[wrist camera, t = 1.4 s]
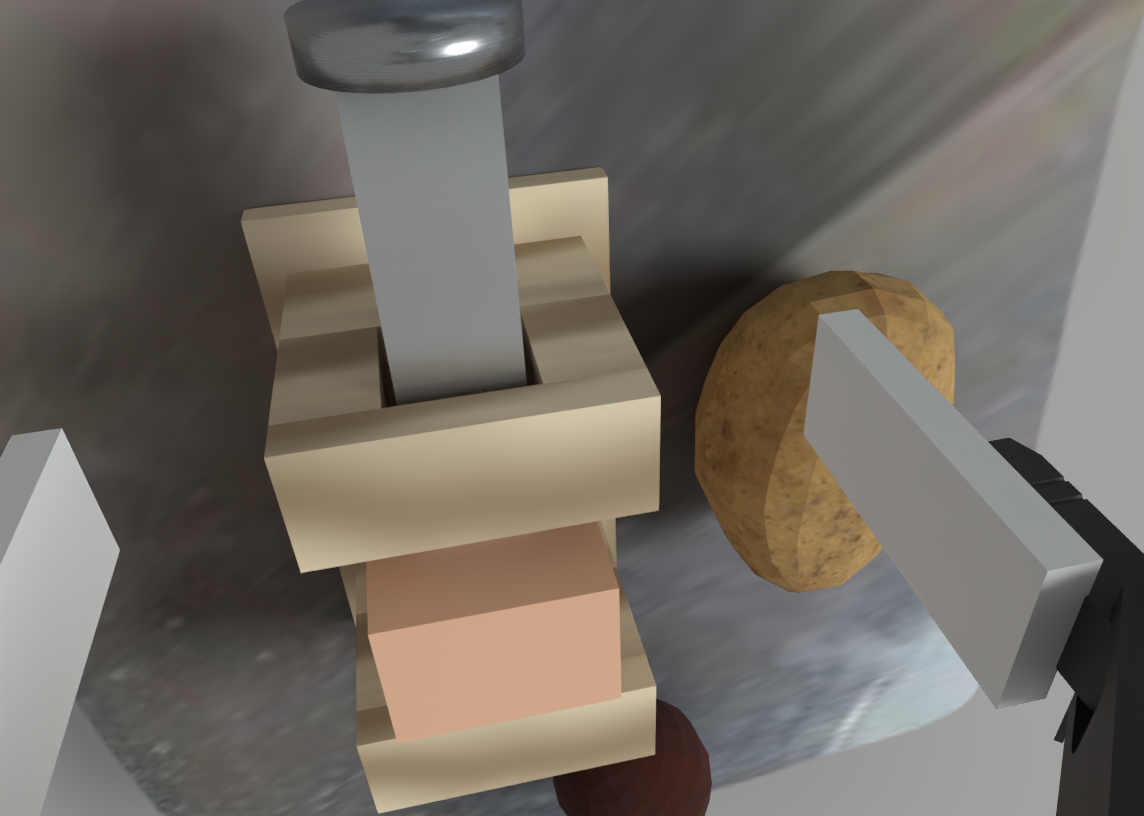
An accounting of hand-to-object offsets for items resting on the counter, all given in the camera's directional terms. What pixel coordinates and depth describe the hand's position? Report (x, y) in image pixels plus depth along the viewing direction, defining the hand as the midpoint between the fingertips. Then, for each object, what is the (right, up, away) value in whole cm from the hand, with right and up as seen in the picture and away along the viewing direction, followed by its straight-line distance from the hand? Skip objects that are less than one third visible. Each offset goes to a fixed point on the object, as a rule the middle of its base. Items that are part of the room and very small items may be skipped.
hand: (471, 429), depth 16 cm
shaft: (-2, 0, +14) cm, 14 cm away
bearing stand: (-3, 0, +20) cm, 20 cm away
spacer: (-1, -6, +12) cm, 14 cm away
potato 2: (+4, -16, +33) cm, 37 cm away
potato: (+10, +2, +22) cm, 24 cm away
